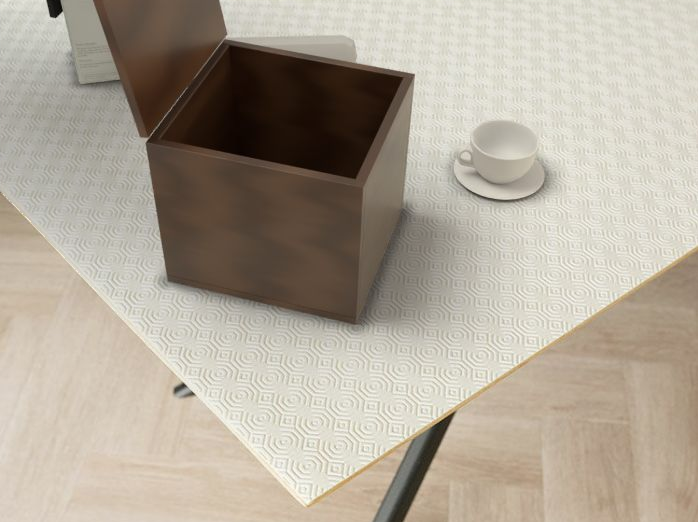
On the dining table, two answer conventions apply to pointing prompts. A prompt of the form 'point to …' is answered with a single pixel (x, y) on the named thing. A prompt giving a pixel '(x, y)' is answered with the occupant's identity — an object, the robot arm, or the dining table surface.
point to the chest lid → (159, 50)
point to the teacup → (500, 160)
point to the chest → (282, 177)
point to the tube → (308, 45)
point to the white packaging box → (88, 42)
